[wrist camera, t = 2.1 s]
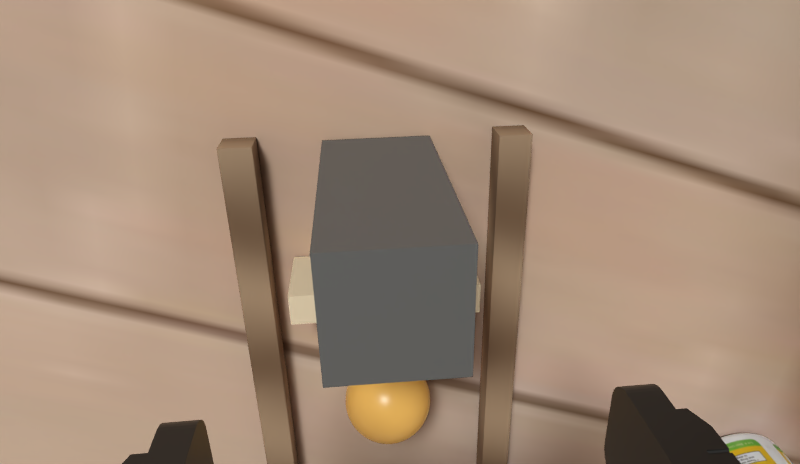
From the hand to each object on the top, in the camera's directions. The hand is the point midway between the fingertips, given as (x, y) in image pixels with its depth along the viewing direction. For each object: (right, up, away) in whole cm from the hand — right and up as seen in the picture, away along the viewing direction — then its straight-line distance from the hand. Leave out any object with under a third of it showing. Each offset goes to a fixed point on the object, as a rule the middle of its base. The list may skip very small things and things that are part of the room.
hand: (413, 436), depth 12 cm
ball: (-1, -3, +14) cm, 14 cm away
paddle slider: (-1, +6, +11) cm, 13 cm away
